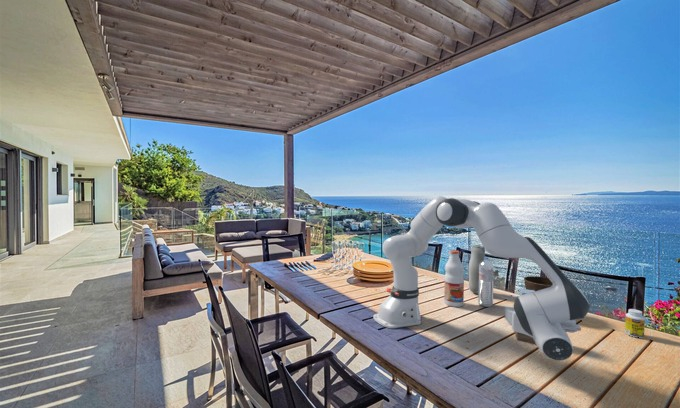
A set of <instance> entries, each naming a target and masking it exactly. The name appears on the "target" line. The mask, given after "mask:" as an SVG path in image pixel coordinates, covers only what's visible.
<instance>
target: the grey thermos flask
mask: <svg viewBox="0 0 680 408" xmlns="http://www.w3.org/2000/svg"><path fill="white" fill-rule="evenodd" d="M470 249H471V250H470V252H471V253H470V254H471V255H470V259H469V263H468V288H469V290H470V291H471V292H472V293H473V294H476V295H479V264H480V263H481V262H482V261H484V260H485V259H484V257H486V249H485V248H484V246H483V245H482V244H481V245H478V244H474V245H473V246H471V248H470Z"/></svg>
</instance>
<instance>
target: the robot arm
mask: <svg viewBox="0 0 680 408" xmlns="http://www.w3.org/2000/svg"><path fill="white" fill-rule="evenodd" d="M444 226H446V227H453V228H459V229H462V228H463V229H464V228H465V229H466V228H467V229H468V228H469V229H473V230H474V231H475V233H476V236H477V238H478V239H479V241H480V243H481V246H483V247H484V248H485V252H488V254H490V255H492V256H494V257H496V258H497V257H498V258H504V259H505V258H506V259H507V258H508V259H510V258H511V259H513V258H514V259H517V258H518V259H524V260H525V259H526V260H529V261H531V262H534V264H536V265H537V266H538V268H539V269H540V270H541V271H542V272H543V274H544V275H545V276H546V278H549V280H550V281H551V282H552V283H553V285H552V286H551V287H549V288H545V289H542V290H538V291H535V292H530V293H527V294H524V295H520V294H519V296H516V297H515V300H514V303H513V307H511V306H505V308H504V318H505V320H506V322H507V323H508V325H509V326H511V328H512V331H513V332H514V331H515V332H519V333H522V334H525V335H528V336H530V337H532V338H533V339H534V341H535V343H534V344H535V345H536V346H537V348H538V350H539V351H541V353H542V354H543V355H544V356H545V357H546V358H548V359H551V360H553V361H557V362H559V361H565V360H568V359H569V358H571V357H572V355H573V353H574V346H573V343H572V340H571V338H570V336H569V335H568V333H576V332H579V331H582V328H581V326H580V325H578V324H577V322H576V321H577V320H581V319H585V318H586V316H587V315H588V312H589V311H590V303H589V300H588V299H587V297H586V295H585V294H584V293H583V291H582V290H581V289H579V288H578V287H577V286H576V285H575V284H574V283H573V282H572V281H571V280H570V279H569V278H568V277H567V276H566V274H565V273H564V272H563V271H562V270H561V269H560V268H559V267H558V265H557V264H556V263H555V262H554V260H552V259H551V258H550V256H549V255H548V254H547V253H546V251H544V250H543V249H542V248H541V247H542V246H540V245H539V244H538V243H537V242H536V241H535V240H533V239H532V238H531V237H529V236H523V235H521V234H519V233H518V232H517V231H516V230H515V229H514V227H513V226H512V224H511V223H510V221H509V220H508V218H507V217H506V215H505V214H504V213H503V211H502V210H501V209H500V208H499V207H498V205H496V203H495V204H494V203H493V202H483V203H480V202H478V201H474V200H470V199H465V198H463V199H462V198H461V199H460V198H453V197H452V198H451V197H450V198H447V197H445V196H435V197H434V198H433V199H432V200H430V201H429V202H428V203H426V205H425V206H424V207H422V209H421V210H420V211H419V212H418V213H417V215H415V217H414V218H413V219H412V220H411V221H410V226H409V227H410V229H409V231H407V232H406V233H404V234H397V235H393V236H390V237H389V238H386V239H385V240H384V241H383V243H382V252H383V255H384V256H385V257H386V258H387V259H388V260H389V262H390V264H391V267H392V271H393V286H392V287H391V288H390V287H387V288H386V292H387V293H390V294H389V296H387V297H386V298H385V299H384V300H383V302H382V303H380V304H379V307H378V313H375V314H373V316H372V317H373V320H374V321H375V322H376V323H378V324H379V325H380V326H383V327H384V328H388V329H397V328H398V329H399V328H405V327H410V326H417V325H421V320H422V315H421V311H420V307H419V305H420V304H419V296H420V295H419V293H420V290H419V284H418V283H419V278H418V277H419V273H418V272H419V271H418V270H417V269H416V267H415V266H413V263H412V258H414V257H419V256H420V255H423V254H424V253H425V252H427V250H428V248H429V242H430V240H431V239H432V238H433V237H434V235H436V234H437V233H438V232H439V231H440V230H441V229H442V228H443V227H444ZM515 332H514V333H515Z"/></svg>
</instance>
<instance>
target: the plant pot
mask: <svg viewBox="0 0 680 408" xmlns="http://www.w3.org/2000/svg"><path fill="white" fill-rule="evenodd" d="M523 281H524V287H525V288H524V289H526V290H534V291H538V290H542V289H545V288H549V287H551V286H552V285H553V283H552V282H551V281H550V280H549V278H548V277H547V276H546V277H545V276H537V275H536V276H535V275H534V276H533V275H532V276H531V275H530V276H525V277H523Z"/></svg>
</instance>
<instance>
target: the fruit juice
mask: <svg viewBox="0 0 680 408" xmlns="http://www.w3.org/2000/svg"><path fill="white" fill-rule="evenodd" d="M448 253H449V257H448V259H447V262H446V263H445V266H444V271H445V275H444V291H443V293H444V294H443V295H444V298H443V299H444V304H445V305H447V306H450V307H453V308H459V307H462V306H464V303H465V302H464V298H465V296H464V293H465V292H464V291H465V290H464V289H465V288H464V286H465V285H464V284H465V283H464V282H465V278H464V269H465V268H464V264H462V262H461V259H460V251H459V250H456V249H450V250H449V251H448Z"/></svg>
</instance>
